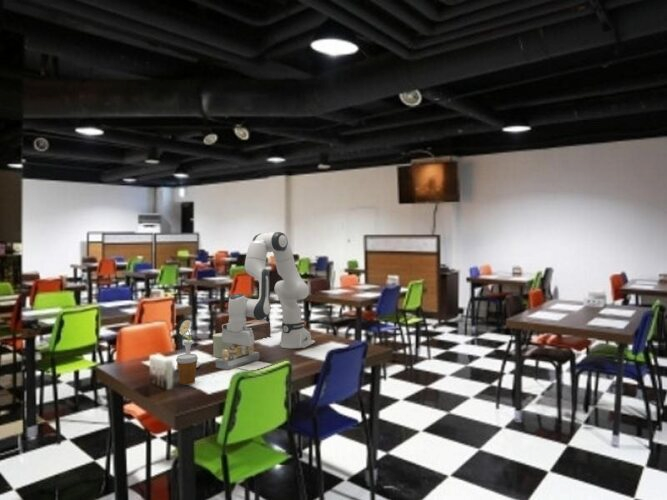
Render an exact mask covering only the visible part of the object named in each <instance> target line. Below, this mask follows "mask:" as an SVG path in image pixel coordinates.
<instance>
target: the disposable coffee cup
mask: <svg viewBox="0 0 667 500" xmlns="http://www.w3.org/2000/svg"><path fill="white" fill-rule="evenodd" d="M198 359H199V357H198V355H197V354H196V353H191V354H186V353H183V354H179V355H177V356H176V359H175V361H176V363H177V364H176V366H177V365H178V368H177V371H178V377H179V384H180V385H185V386H187V385H192V384H194V383H195V382H196V373H197V368H196V365H197V360H198Z"/></svg>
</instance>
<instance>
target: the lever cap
mask: <svg viewBox="0 0 667 500" xmlns="http://www.w3.org/2000/svg"><path fill="white" fill-rule="evenodd" d="M242 348H243V347H242V345H237V346H236V347H235V349H231V348H230V354H234V355H236V357H239V356H242V355H245V354H247V348H246V349H245V353H244V354H241V350H242Z"/></svg>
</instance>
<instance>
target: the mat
mask: <svg viewBox="0 0 667 500" xmlns="http://www.w3.org/2000/svg"><path fill="white" fill-rule="evenodd" d="M270 365H271V366H273V364H272V363H269V362H263V361H260V360H257V361H254V362H251V363H248V364H245V365H242V366H239V367H237V370H241V371H246V372H248V371H247V370H257V369H260V370H262V369H261V368H263V369H265V368H268V367H270ZM267 366H268V367H267ZM264 367H265V368H264ZM257 371H258V370H257Z"/></svg>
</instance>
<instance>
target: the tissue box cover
mask: <svg viewBox="0 0 667 500" xmlns="http://www.w3.org/2000/svg"><path fill="white" fill-rule="evenodd" d="M246 327H247V328H251V329H252V331H253V335H254V342H255V341H260V340H263V338H265V339H268V338H267V337H269V338H271V321H265V320H262V319H260V320H259V319H253V320H246Z"/></svg>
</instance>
